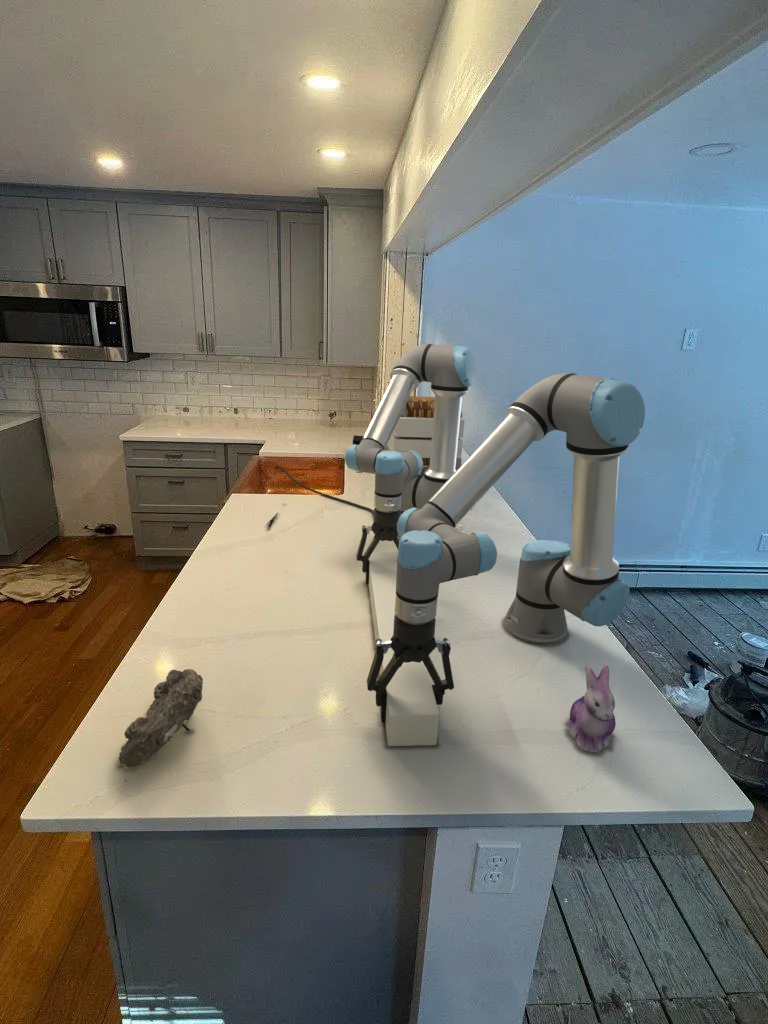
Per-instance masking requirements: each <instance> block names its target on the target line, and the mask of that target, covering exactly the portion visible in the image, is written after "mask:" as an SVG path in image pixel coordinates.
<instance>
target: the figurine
mask: <svg viewBox="0 0 768 1024" xmlns="http://www.w3.org/2000/svg"><path fill="white" fill-rule="evenodd" d="M585 676H586V677H585V680H586V691H585V693H584V695H583V696H581V697H580V698H578V699H576V700H575V701H573V703H572V705H571V707H570V712H569V719H568V731H569V735H570V736H571V737H572V739H573V740H574V741H575V742H576V744H577V747H578V748H579V749H581V750H583V751H587V752H592V753H600V752H601V750H602V749H606V748H608V747H609V745H610V743H611V740H612V735H613V733H614V731H615V729H616V725H617V724H616V717H615V714H614V712H615V708H616V700H615V699H616V698H615V696H614V694H613V692H612V689H611V687H610V667H609V665H608V664H604V665H603V666H602V667H601V669H600V672H599V674H598V676H597V675H596V674H595V672H594V670H593V668H591V667H590V666H589V665H588V666H586V667H585Z"/></svg>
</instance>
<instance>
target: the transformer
mask: <svg viewBox="0 0 768 1024" xmlns="http://www.w3.org/2000/svg"><path fill="white" fill-rule="evenodd" d="M434 404H435V396H415V395H414V396H413V395H412V396H411V395H410V397H409V399H408V401H407V403H406V406H405V408H404V410H403V412H402V414H401V416H400V418H399V420H398V423H397V425H396V427H395V429H394V431H393V433H392V435H391V437H390V440H389V442H388V444H387V446H386V448H385V450H389V451H395V452H401V453H403V452H405V451H415V452H417V453H418V454H419V455H420V456H421V458H422V461H423V467H429V466H430V454H431V441H432V429H433V416H434ZM464 429H465V419H464V418H463V411H461V415H460V426H459V436H458V447H457V457H456V468H455V469H456V471H457V470H458V469H459V468H460V466H461V465H462V461H463V460H462V453H463V442H464V441H463V440H462V439H463V438H464V431H465V430H464Z"/></svg>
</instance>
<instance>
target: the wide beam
mask: <svg viewBox="0 0 768 1024" xmlns="http://www.w3.org/2000/svg"><path fill="white" fill-rule="evenodd" d="M397 555H398V551H373V552H372V554H371V556H370V557H369V563H370V566H369V584H368V590H369V599H370V609H371V616H372V622H373V623H372V625H373V632H374V643H376V640H377V639H381V640H382V641H389V640H390V639H391V638H392V636H393V629H394V616H395V611H394V610H395V596H396V577H397ZM393 654H394V651H393V650H392V648H389V649H388V651H387V653H386V654H384V658H383V662H382V665H381V668H380V671H379V674H378V676H379V677H380V676H381V674H382V673H383V671H384V669H385V668H386V666H387V665H388V663H389V662H390V660H391V659H392V657H393ZM432 685H433V684H432V679H431V676H430V674H429V672H428V670H427V668H426V667H425V665H424V663H423V661H421V662H409V663H403V664H402V666H401V667H399V668H398V670H397V671H396V673H395V675H394V676H393V678H392V679H391V681H390V682H389V684H388V685H387V687H386V690H387V704H386V723H384V724H385V733H386V741H387V747H411V746H412V747H414V746H416V747H417V746H437V745H438V732H439V721H440V713H439V708H438V705H437V704H436V700H435V696H434V692H433V688H432Z"/></svg>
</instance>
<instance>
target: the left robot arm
mask: <svg viewBox="0 0 768 1024" xmlns="http://www.w3.org/2000/svg"><path fill="white" fill-rule="evenodd" d="M389 376H390V377H389V378H390V381H389V383H388V385H387V387H386V390H385V391H384V393H383V395H382V397H381V400H380V402H379V403H378V406H377V408H376V410H375V412H374V414H373V416H372V418H371V420H370V422H369V424H368V427H367V428H366V431H365V433H364V435H362V436H363V438H362V440H361V442H360V444H359V445H353V444H351V445H350V446H348V447H347V449H346V451H345V456H344V461H345V462H344V463H345V465H346V467H347V468H348V469H349V470H351V471H354V472H358V473H366V474H372V475H374V492H373V493H374V496H373V507H374V508H373V509H372V508H370V507H367V506H364V505H362V504H361V505H360V504H358V503H355V502H352V501H348V500H345V499H343V498H339V497H336V496H332V495H331V494H327V493H324V492H322V491H321V492H320V491H318V490H316V489H313V488H311V487H308V486H306V485H304V484H303V483H300V482H299V481H297V480H296V479H295V478H293V477H292V475H290V473H289V472H288V471H287V470H286V469H284V468H283V467H282V466H280V465H276V466H275V467H274V469H275V470H276V469H280V470H281V471H282V472H284V473H285V474H286V476H287V477H288V478H289V479H290V480H291V481H293V483H295V484H296V485H298V486H300V487H302V488H304V489H306V490H308V491H310V492H312V493H315V494H318V495H320V496H323V497H326V498H329V499H332V500H335V501H338V502H342V503H345V504H348V505H352V506H354V507H357V508H360V509H363V510H366V511H369V512H370V513H372V517H373V519H372V520H373V521H372V524H371V525H370V526H366V525H362V526H361V537H360V540H359V544H358V548H357V551H356V555H355V558H356V561H358V562H361V565H362V566H361V567H362V568H361V570H362V573H365V584H366V585H369V566H370V563H369V557H370V556H371V554H372V552H375V549H376V548H377V546H378V544H379V543H380V542H385V541H387V542H393V544H394V545H395V547H396V549H397V550H398V546H399V541H400V536H399V534H398V532H397V523H398V520H399V518H400V516H401V515H402V513H403V512H405V511H406V510H408V509H411V508H419V509H422V507H423V506H424V505H425V504H427V502H428V501H429V500H430V499H431V498H432V497H433V496H434V494H435V493H436V492H437V491H438V490H439V489H440V488H441V487H442V486H443V485H444V484H445V483H446V482H447V480H448V479H449V478H450V477H451V476H452V475H453V474H454V473H455V472H456V469H455V468H456V457H457V447H458V436H459V426H460V415H461V412H462V403H463V398H464V397H463V396H464V395H466V394H467V393H468V391H469V387H472V386H474V383H475V382H476V377H477V362H476V356H475V354H474V352H473V350H472V349H471V348H470V347H467V346H461V345H451V344H450V345H449V344H432V343H421V344H418V345H415V346H413V347H412V348H411V349H409V350H408V351H406V352H405V353H404V354H403V355H402V356H401V357H400V358H399V359H398V360H397V361H396V363H395V364H394V366H393V368H392V370H391V372H390V373H389ZM425 382H426V383H430V390H431V391H432V392H433V394H434V397H435V404H434V416H433V429H432V441H431V454H430V466H429V465H428V468H427V469H426V470H424V472H423V474H422V471H423V467H424V466H423V461H422V458H421V456H420V455H419V454H418V453H417V452H415V451H405V452H403V453H401V452H395V451H389V450H385V448H386V446H387V444H388V442H389V440H390V437H391V435H392V433H393V431H394V429H395V427H396V425H397V423H398V420H399V418H400V416H401V414H402V412H403V410H404V408H405V406H406V403H407V401H408V399H409V397H410V396H411V395H412V393H413V391H415V390H417V389H418V387H419V386H420V384H421V383H425ZM371 532H372V533H373V534H374V536H373V538H372V541H370V544H369V545H368V546H367V549H366V550H365V552H364V549H365V546H366V543H367V540H368V536H369V535H370V533H371ZM363 552H364V554H363Z"/></svg>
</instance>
